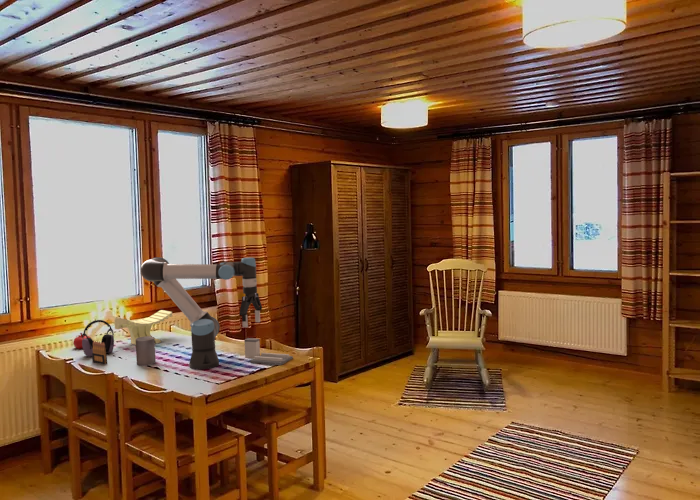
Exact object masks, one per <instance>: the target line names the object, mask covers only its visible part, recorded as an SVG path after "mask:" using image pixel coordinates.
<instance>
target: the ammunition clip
mask: <svg viewBox="0 0 700 500" xmlns="http://www.w3.org/2000/svg"><path fill="white" fill-rule="evenodd" d="M107 354H108V353H107V352H106V349H105V344H104V342H103V343H102V342H101V341H98V340H93V353H92V356H91V357H92V363H95V364H98V365H99V364H100V365H108V355H107Z"/></svg>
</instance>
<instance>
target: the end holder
mask: <svg viewBox="0 0 700 500" xmlns="http://www.w3.org/2000/svg"><path fill="white" fill-rule="evenodd" d="M293 358H294V357H293V356H292V355H290V354H289V353H287V354H286V353H274V352H273V353H271V352H260V356H255V357H254V358H252V359H251V360H250V364H258V363H261V365H271V364H272V365H274V366H282V365H284V364H285V363H287V362H289V361H291V360H292V359H293Z"/></svg>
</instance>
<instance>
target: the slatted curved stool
mask: <svg viewBox="0 0 700 500" xmlns="http://www.w3.org/2000/svg"><path fill="white" fill-rule="evenodd" d="M170 317H173V311H169V310H164V309H160V310H158V311H157V312H155V313H153V314H152V315H150V316H149V317H145V318H142V319H138V320H128V319H126V318H123V317H122V318H121V317H118V316H117V317H115V318H114V329H115V330H121V329H125V328H127V330H128V332H129V336H130V344H133V345H135V346H136V338H139V337H145V336H152V334H151V329H152V327H153V325H156V324H161V322H162V323H163V322H164V321H165V320H168V319H169V318H170ZM154 340H155V344H160V343H162V342H161V340H160V339H159V338H156V337H155V338H154Z"/></svg>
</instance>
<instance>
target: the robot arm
mask: <svg viewBox="0 0 700 500" xmlns="http://www.w3.org/2000/svg"><path fill="white" fill-rule="evenodd" d="M140 274H141V276H142V278H143V279H145V280H146V281H148V282H153V284H154V285H155V286H156V287H158V288H162V290H163V291H164V292H165V293H166V295H167V296H168V297H169V298H170V299H171V300H172V302H173V303H174V304H175V305H176V306H177V308H178V309H179V310H180V311H181V312H182V313H183V315H184V316H185V317H186V318H187V320H188V321H189V327H190V332H191V333H190V336H191V356H190V359H189V362H188V363H189V364H188V365H189V368H190V369H193V370H208V369H213V368H216V367H218V366H220V359H219V357H218V354H217V353H218V352H216V338H217V336H218V334H219V332H220V323H219V321H218V320H217V319H216V318H215V317H213V316H212V315H210V313H209V312H208V311H205V310H203V309H202V308H201V307H200V305H198V304H197V302H196V301H195V300H194V299H193V297H192V296H191V295H190V294H189V293H188V292H187V290H186V289H185V288H184V287H183V286H182V284H181V283H180V282H179V280H180V279H181V280H183V279H184V280H186V279H187V280H189V279H190V280H191V279H193V280H194V279H195V280H198V279H202V280H206V279H207V280H214V279H215V280H224V281H225V280H226V281H227V280H228V281H229V280H231V279H232V278H233V277H237V276H238V277H239V276H242V279H241V280H242V286H243V287H242V293H243V294H244V295H245V296H241V302H240V303H241V304H240V308H239V315H240V316H241V319H242V320H241V321H242V328H249V324H248V321H249V319H248V310H249V308H250V305H251V304H252V305H253V308H254V309H255V310H254V320H255V321H254V322H255V323H261V311H263V310H262V309H263V306H262V303H261V299H260V296H259V293H258V287H257V284H258V283H257V282H258V280H257V263H256V258H255V257H243V258H241V260H240V261H233V262H232V261H229V262H227V261H225V262H220V263H219V264H214V263H213V264H206V263H205V264H204V263H198V264H194V263H192V264H191V263H188V264H187V263H169V261H168V260H167V259H165V258H164V257H157V256H156V257H153V258H150V259H147V260H146V261H144V262H143V263H142V264H141V266H140Z"/></svg>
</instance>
